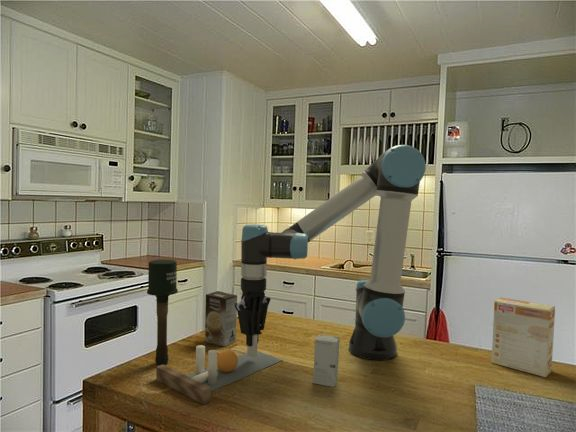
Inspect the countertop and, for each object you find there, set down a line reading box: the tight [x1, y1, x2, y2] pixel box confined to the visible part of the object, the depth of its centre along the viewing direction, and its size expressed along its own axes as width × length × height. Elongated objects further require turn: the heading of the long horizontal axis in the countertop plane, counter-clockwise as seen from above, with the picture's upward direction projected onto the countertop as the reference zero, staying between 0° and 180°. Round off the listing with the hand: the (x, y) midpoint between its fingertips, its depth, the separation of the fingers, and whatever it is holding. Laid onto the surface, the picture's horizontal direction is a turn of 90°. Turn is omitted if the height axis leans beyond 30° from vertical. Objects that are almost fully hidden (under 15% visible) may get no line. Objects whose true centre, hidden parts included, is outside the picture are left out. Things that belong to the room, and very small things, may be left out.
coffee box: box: [204, 290, 238, 347], centre depth 144 cm, size 9×6×16 cm
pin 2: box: [207, 349, 219, 385], centre depth 113 cm, size 2×2×8 cm
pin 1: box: [195, 344, 206, 375], centre depth 116 cm, size 2×2×8 cm
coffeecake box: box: [491, 297, 556, 378], centre depth 128 cm, size 15×7×20 cm, turn 47°
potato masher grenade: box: [146, 259, 179, 366], centre depth 124 cm, size 8×9×30 cm
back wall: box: [155, 365, 212, 406], centre depth 109 cm, size 20×2×4 cm, turn 50°
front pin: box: [191, 371, 218, 383], centre depth 114 cm, size 2×2×8 cm
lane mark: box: [186, 350, 283, 392], centre depth 122 cm, size 12×29×1 cm, turn 140°
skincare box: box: [312, 334, 341, 388], centre depth 115 cm, size 6×4×12 cm
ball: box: [217, 349, 238, 372], centre depth 120 cm, size 6×6×6 cm
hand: (252, 355), depth 128 cm, fingers closed
